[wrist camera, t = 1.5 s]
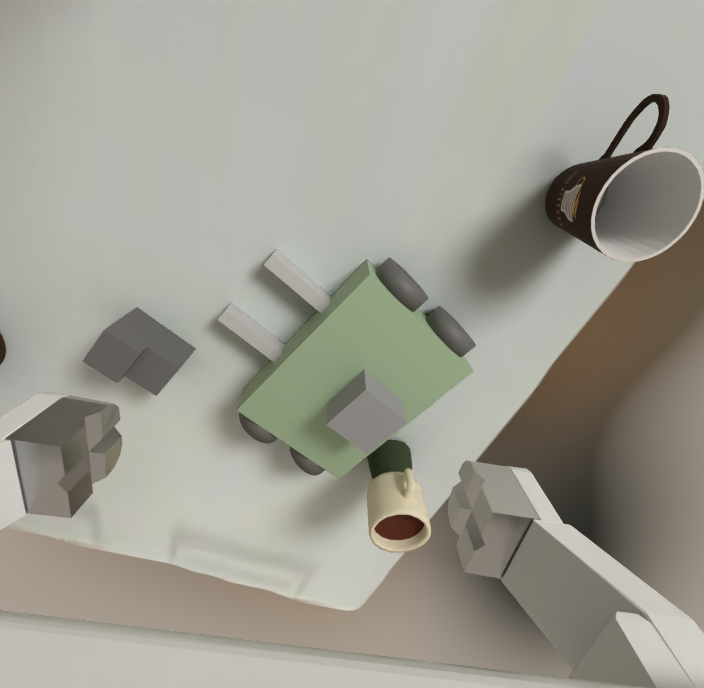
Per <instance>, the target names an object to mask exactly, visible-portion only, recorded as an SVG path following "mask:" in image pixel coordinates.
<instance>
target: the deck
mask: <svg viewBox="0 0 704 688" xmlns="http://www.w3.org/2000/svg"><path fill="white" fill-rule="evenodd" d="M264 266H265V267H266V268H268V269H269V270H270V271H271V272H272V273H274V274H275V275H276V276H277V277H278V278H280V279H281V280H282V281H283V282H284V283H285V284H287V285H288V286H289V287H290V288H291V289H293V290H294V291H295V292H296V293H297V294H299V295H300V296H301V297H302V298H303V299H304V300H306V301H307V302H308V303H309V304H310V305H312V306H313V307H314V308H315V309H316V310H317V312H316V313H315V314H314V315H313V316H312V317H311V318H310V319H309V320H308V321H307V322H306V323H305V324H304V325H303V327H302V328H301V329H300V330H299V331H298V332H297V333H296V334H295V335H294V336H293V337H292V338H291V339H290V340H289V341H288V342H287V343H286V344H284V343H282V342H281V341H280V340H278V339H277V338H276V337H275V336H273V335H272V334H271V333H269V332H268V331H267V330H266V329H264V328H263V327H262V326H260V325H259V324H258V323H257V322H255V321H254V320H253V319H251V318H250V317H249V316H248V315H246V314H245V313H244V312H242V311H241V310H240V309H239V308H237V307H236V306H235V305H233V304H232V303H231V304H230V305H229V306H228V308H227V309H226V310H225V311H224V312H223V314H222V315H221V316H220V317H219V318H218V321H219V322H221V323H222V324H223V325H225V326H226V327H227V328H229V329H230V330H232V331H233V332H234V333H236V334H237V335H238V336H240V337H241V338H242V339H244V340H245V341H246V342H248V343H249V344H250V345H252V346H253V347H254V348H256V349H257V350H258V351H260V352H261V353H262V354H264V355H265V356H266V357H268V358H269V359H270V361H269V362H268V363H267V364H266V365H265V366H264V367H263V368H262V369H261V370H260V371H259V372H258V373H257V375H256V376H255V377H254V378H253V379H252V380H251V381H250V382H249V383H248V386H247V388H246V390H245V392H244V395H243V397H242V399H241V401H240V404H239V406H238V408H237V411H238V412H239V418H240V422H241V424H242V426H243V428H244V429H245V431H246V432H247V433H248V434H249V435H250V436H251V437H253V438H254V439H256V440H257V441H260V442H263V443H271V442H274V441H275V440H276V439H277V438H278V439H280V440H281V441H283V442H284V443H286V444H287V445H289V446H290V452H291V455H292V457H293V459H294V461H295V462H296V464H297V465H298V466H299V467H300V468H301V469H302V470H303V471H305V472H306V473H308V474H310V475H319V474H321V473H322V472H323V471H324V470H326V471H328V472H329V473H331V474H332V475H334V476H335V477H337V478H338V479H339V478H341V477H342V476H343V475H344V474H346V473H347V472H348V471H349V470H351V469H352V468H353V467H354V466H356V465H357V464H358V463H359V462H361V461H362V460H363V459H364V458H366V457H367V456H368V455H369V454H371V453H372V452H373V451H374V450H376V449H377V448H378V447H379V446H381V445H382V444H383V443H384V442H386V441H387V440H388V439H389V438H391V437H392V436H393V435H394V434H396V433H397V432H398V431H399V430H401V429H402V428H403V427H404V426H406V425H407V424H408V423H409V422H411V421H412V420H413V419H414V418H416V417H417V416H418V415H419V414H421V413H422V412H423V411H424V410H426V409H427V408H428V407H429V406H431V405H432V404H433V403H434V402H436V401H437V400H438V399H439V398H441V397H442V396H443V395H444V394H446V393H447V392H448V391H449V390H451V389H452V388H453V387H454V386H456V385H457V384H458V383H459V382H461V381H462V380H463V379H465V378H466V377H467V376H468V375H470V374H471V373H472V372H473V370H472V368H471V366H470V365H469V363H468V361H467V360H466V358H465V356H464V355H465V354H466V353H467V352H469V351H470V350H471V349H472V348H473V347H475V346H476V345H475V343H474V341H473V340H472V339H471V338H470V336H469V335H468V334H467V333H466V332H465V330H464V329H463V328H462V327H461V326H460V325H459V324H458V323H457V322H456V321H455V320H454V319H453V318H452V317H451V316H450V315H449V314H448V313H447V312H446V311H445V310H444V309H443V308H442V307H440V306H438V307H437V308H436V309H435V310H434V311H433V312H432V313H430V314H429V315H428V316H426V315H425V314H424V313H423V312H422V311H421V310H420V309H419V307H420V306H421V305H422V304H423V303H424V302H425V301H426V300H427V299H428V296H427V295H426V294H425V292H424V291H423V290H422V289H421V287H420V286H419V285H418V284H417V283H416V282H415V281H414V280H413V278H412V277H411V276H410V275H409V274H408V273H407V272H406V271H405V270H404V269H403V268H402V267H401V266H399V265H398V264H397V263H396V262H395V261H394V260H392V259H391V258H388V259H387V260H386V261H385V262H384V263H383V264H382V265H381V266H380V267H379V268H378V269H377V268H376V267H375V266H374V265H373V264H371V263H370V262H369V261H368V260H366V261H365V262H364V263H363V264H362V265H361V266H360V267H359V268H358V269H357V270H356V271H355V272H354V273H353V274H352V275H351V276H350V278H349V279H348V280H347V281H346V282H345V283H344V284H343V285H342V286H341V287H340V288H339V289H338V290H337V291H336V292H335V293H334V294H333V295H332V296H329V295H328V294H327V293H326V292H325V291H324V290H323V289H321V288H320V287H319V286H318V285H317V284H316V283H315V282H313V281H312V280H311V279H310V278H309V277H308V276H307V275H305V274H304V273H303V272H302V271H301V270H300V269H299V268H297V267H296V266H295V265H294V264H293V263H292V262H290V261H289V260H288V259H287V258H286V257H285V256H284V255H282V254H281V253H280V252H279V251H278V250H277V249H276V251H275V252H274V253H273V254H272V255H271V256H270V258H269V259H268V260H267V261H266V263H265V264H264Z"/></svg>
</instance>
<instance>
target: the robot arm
mask: <svg viewBox="0 0 704 688" xmlns="http://www.w3.org/2000/svg"><path fill="white" fill-rule="evenodd" d="M119 421H120V412H119V407H118V406H116V405H115V404H113V403H108V402H102V401H97V400H91V399H86V398H80V397H75V396H67V395H63V394H57V393H51V392H43V393H38V394H36V395H35V396H33V397H32V398H30V399H29V400H27V401H25V402H24V403H22V404H21V405H19V406H18V407H16V408H15V409H13V410H12V411H10V412H8V413H7V414H5V415H4V416H2V417H1V418H0V530H1V529H3V528H5V527H7V526H8V525H10V524H12V523H14V522H15V521H17V520H19V519H21V518H22V517H24V516H26V513H30V514H40V515H49V516H58V517H67V518H71V517H72V516H73V515H74V514H75V513H76V512H77V510H78V509H79V508H80V507H81V506H82V505H83V504H84V502H85V501H86V500H87V499H88V498H89V497H90V495H91V494H92V493H93V489H92V484H93V483H95V482H97V481H99V480H101V479H103V478H105V477H107V475H108V474H109V473H110V472H111V471H112V469H113V468H114V466H115V464H116V462H117V460H118V458H119V456H120V452H121V446H122V438H121V435H120V433H119V432H118V431H117V430H116V428H115V427H114V426H115V425H116V424H117V423H118V422H119ZM459 476H460V479H461V482H460V483H458V484H457V485H455V486H454V487H453V489H452V492H451V494H450V497H449V507H448V512H449V519H450V523H451V527H452V529H453V530H454V531H455V532H456V533H457V534H458V535H459V536H460V538H459V540H458V543H457V548H458V551H459V555H460V558H461V561H462V565H463V568H464V572H466V573H472V574H478V575H484V576H489V577H495V578H501V579H502V580H501V581H502V582H503V583H504V584H505V586H506V587H507V588H508V589H509V591H510V592H511V593H512V595H513V596H514V597H515V598H516V600H517V601H518V602H519V603H520V605H521V606H522V607H523V608H524V609H525V611H526V612H527V613H528V615H529V616H530V617H531V618H532V620H533V621H534V622H535V623H536V624H537V626H538V627H539V628H540V629H541V631H542V632H543V633H544V635H545V636H546V637H547V638H548V639H549V641H550V642H551V643H552V645H553V646H554V647H555V648H556V650H557V651H558V652H559V653H560V654H561V656H562V657H563V658H564V659H565V661H566V662H567V663H568V664H569V666H570V667H571V668H572V670H573V671H572V672H571V673H570V675H569V676H568V677H567V678H563V677H555V676H547V675H537V674H530V673H522V672H513V671H505V670H496V669H488V668H479V667H472V666H463V665H455V664H446V663H438V662H429V661H421V660H413V659H403V658H395V657H387V656H378V655H370V654H362V653H353V652H345V651H336V650H328V649H320V648H311V647H302V646H294V645H285V644H277V643H269V642H260V641H252V640H243V639H236V638H227V637H219V636H211V635H202V634H193V633H186V632H178V631H169V630H161V629H153V628H144V627H135V626H128V625H120V624H119V625H118V624H111V623H103V622H94V621H86V620H78V619H69V618H61V617H53V616H44V615H35V614H28V613H19V612H11V611H3V610H0V688H704V634H703V632H702V631H701V630H700V629H699V627H698V626H697V625H696V624H695V622H694V621H693V620H692V619H691V618H690V617H688V616H687V615H686V614H684V613H683V612H682V611H680V610H679V609H678V608H677V607H675V606H674V605H672V604H671V603H670V602H669V601H668V600H666V599H665V598H664V597H662V596H661V595H660V594H658V593H657V592H656V591H655V590H653V589H652V588H651V587H649V586H648V585H647V584H646V583H644V582H643V581H641V580H640V579H639V578H638V577H636V576H635V575H634V574H633V573H631V572H630V571H629V570H628V569H626V568H625V567H624V566H622V565H621V564H620V563H619V562H617V561H616V560H615V559H613V558H612V557H611V556H609V555H608V554H607V553H606V552H604V551H603V550H601V549H600V548H599V547H598V546H596V545H595V544H594V543H593V542H591V541H590V540H589V539H588V538H586V537H585V536H584V535H582V534H581V533H580V532H578V531H577V530H576V529H575V528H573V527H572V526H571V525H567V524H563V522H562V521H561V519H560V518H559V516H558V514H557V513H556V511H555V510H554V508H553V506H552V505H551V503H550V502H549V500H548V498H547V497H546V495H545V494H544V492H543V490H542V489H541V487H540V486H539V484H538V483H537V481H536V479H535V478H534V476H533V475H532V473H531V472H530V471H528V470H527V469H524V468H517V467H509V466H505V467H504V466H498V465H491V464H485V463H479V462H472V461H465V462H464V463H463V464H462V466H461V468H460V471H459Z"/></svg>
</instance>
